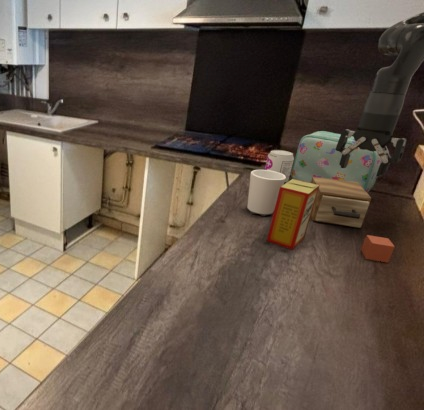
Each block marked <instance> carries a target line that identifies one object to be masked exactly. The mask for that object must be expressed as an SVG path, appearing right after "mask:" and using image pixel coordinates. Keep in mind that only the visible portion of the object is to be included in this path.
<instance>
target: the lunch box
mask: <svg viewBox="0 0 424 410" xmlns="http://www.w3.org/2000/svg"><path fill="white" fill-rule="evenodd" d="M340 136H341V133H335V132H332V131H331V132H330V131H325V130H320V131H314V132H312V133H310V134H306V135H304V136H302V137H301V139H300V141H299V144H298V146H297V150H296V154H295V157H294V161H293V165H292V169H291V178H292V179H296V180H300V181H305V182H309V183H311V181H312V177H318V178H326V179H335V180H343V181H351V182H358V183H359V184H360V186H361V187H362V188H363V189H364V190H365V191H366V192H367V194H369V192H370V191H371V190H372V189H373V187H374V186H375V183H376V181H377V179H379V177H378V176H376V175H377V172H378V169H379V167H380V164H381V163H382V160H381V158H380V156H379V155H378V153H377V151H374V152H372V151H369V150H362V149H360V148H359V147H358V148H357V149H355V150H354V151H352V152H351V153H350V154H349V155H350V158H349V161H348V164H347V167H346V168H341V166H340V165H339V163H340V160H341V157H342V153H341V152H339V151H336V146H337V143H338V141H339V138H340ZM354 142H355V139H354V137H353V135H352V136H351V137H350V138H348V140H347V143H346V145H345V148H348V147H349V146H350V145H352V144H353V143H354Z"/></svg>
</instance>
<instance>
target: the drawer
mask: <svg viewBox="0 0 424 410" xmlns="http://www.w3.org/2000/svg"><path fill="white" fill-rule="evenodd" d="M370 204H371V202H370V203H369V201H364V200H362V199H355V198H347V197H340V196H332V195H325V194H323V195H322V198H321V202H320V205H319V208H318V211H317V215H316V218H315V219H316V221H315V222H318V221H323V222H322V223H325V222H329V223H328V224H331V223H336V224H335V225H338V224H342V225H341V226H344V225H348V226H347V227H350V226H355V227H354V228H357V227H361V228H362V226H363V222H364V220H365V217H366V215H367V212H368V210H369V207H370Z"/></svg>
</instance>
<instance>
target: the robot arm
mask: <svg viewBox="0 0 424 410" xmlns="http://www.w3.org/2000/svg"><path fill="white" fill-rule="evenodd" d="M377 49H378V51H379V53H381V54H382V55H384V56H386V57H396V59H395V60H394V61H393V63H392V64H391V65H390V66H386V67H385V66H384V67H381V68H380V69H378V70H377V72H376V74H375V76H374V79H373V82H372V85H371V88H370V92H369V94H368V96H367V99H366V100H365V104H364V105H363V109H362V113H361V116H360V118H359V122H358V125H357V129H356V130H351V129H349V128H348V129H343V130H342V131H341V133H340V134H341V136H340V138H339V141H338V143H337V146H336V151H339V152H341V153H342V157H341V160H340V163H339V165H340V166H341V168H346V167H347V164H348V161H349V158H350V155H349V154H350V153H351V152H352V151H354V150H355V149H357V148H358V147H359V148H360V149H362V150H369V151H372V152H374V151H377V153H378V155H379V156H380V158H381V160H382V163H381V164H380V167H379V169H378V172H377V175H376V176H378V178H380V177H382V176H384V175H386V174H387V172H388V170H389V167H390V165H391V163H392V164H394V163H395V164H396V163H399V162H400V161H402V158H403V154H404V152H405V148H406V145H407V141H408V139H407V138H406V137H402V138H398V137H393V133H394V131H395V129H396V125H397V123H398V120H399V118H400V115H401V113H402V109H403V106H404V103H405V99H406V94H407V92H408V89H409V86H410V84H411V80H412V78H413V76H414V74H415V73H416V71H418V69H419V68H420V66H421V65H422V63H423V62H424V11H423V12H420V13H417V14H415V15H412V16H410V17H407V18H405V19H403V20H401V21H398V22H396V23H394V24H393V25H391V26H390V27H388V28H387V29H386V30H385V31H384V32H383V33H382V34H381V36H380V37H379V39H378V42H377ZM351 136H353V137H354V139H355V142H354V143H353V144H352V145H350V146H349V147H348V148H345V145H346V143H347V140H348V138H350V137H351ZM391 143H392V146H393V147H394V151H393V153H392V156H391V154H390V151H389V149H388V147H387V146H388V145H389V144H391Z"/></svg>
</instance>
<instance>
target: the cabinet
mask: <svg viewBox="0 0 424 410" xmlns="http://www.w3.org/2000/svg"><path fill="white" fill-rule="evenodd" d="M311 183H313V184H318V185H320V186H319V189H318V193H317V196H316V200H315V203H314V206H313V210H312V213H311V217H310V219H311V221H313V222H319V223H324V224H325V223H327V224H332V225H339V226H344V227H350V228H351V227H352V228H358V229H362V226H361V227H355V226H348V225H342V224H336V223H329V222H323V221H316V219H315V218H316V215H317V211H318V208H319V205H320V202H321V198H322V195H323V194H325V195H332V196H340V197H347V198H355V199H362V200H364V201H369V203H370V204H371V201H372V197H371V196H370V195H369V193H367V192H366V191H365V190H364V189H363V188H362V187H361V186H360V184H359V183H358V182H351V181H343V180H335V179H326V178H318V177H312V181H311Z"/></svg>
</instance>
